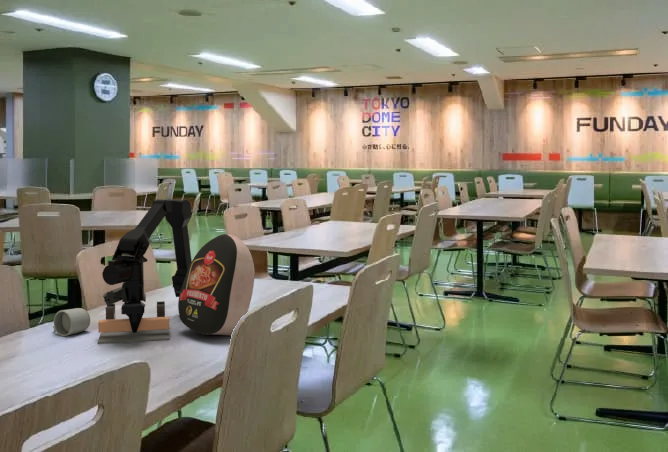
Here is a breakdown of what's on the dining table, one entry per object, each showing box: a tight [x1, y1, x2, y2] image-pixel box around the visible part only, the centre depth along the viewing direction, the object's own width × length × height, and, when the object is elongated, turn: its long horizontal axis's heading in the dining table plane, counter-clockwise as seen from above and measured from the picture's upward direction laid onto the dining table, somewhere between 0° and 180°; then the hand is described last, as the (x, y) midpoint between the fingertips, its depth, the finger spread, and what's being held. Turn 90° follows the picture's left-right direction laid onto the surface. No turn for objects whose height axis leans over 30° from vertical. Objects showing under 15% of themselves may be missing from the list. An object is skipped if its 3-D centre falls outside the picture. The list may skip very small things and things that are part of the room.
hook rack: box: [102, 300, 166, 333], centre depth 213 cm, size 19×7×8 cm, turn 104°
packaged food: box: [177, 233, 256, 336], centre depth 207 cm, size 22×20×30 cm
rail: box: [97, 316, 170, 333], centre depth 203 cm, size 20×3×3 cm, turn 104°
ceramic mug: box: [52, 307, 91, 337], centre depth 208 cm, size 11×8×8 cm
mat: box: [97, 328, 171, 345], centre depth 203 cm, size 20×10×1 cm, turn 104°
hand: (134, 331), depth 203 cm, fingers closed on rail, 3 cm apart
